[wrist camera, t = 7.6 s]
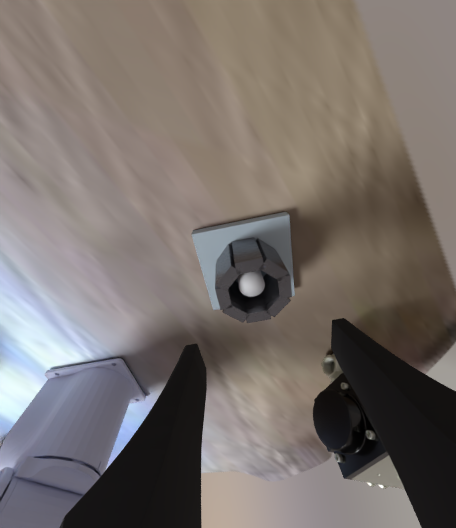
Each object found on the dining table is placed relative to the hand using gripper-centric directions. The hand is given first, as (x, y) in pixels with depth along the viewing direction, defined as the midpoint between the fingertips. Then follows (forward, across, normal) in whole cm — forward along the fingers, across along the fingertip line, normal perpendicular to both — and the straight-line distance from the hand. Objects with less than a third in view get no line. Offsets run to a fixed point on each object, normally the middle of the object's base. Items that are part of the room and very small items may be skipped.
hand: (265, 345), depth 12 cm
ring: (+9, 0, 0) cm, 9 cm away
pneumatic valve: (+10, -9, +16) cm, 21 cm away
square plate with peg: (+10, 0, 0) cm, 10 cm away
